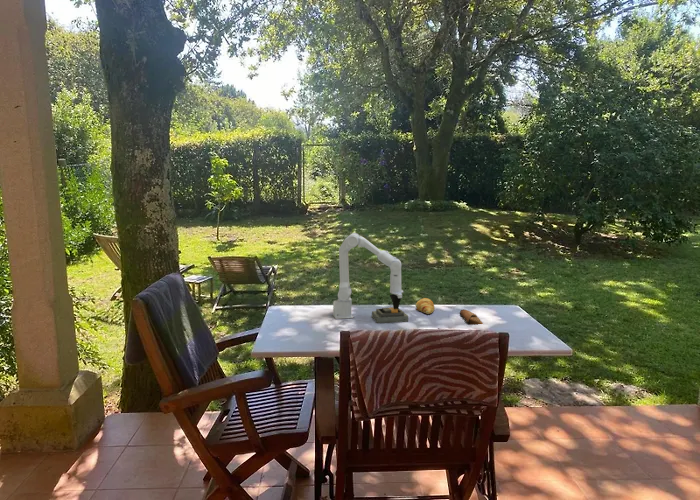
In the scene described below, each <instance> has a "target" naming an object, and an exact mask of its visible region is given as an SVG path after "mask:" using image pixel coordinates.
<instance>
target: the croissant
mask: <svg viewBox="0 0 700 500" xmlns="http://www.w3.org/2000/svg"><path fill="white" fill-rule="evenodd" d="M415 308H416V309H417V311H419V312H421V313H423V314H426V315H430V314H433V312H435V304H434V302H433V301H432V299H430V298H428V297H423V298H419V300H418V301H417V302H416V303H415Z"/></svg>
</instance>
